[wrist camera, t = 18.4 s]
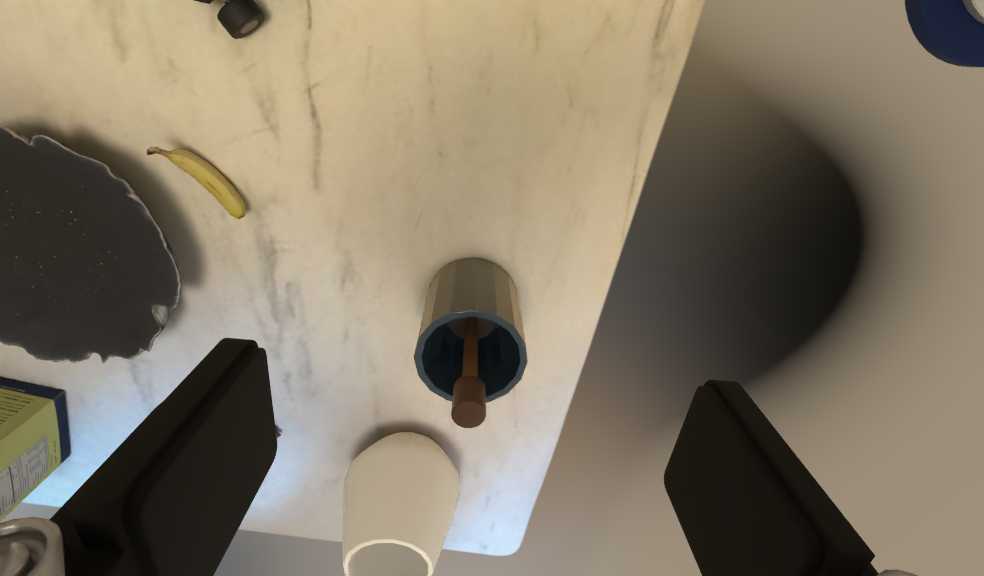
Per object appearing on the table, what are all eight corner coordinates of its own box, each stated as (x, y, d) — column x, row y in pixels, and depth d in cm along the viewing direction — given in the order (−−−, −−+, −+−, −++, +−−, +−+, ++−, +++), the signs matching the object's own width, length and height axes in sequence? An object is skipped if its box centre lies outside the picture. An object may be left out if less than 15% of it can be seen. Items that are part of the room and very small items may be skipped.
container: (535, 290, 48) (549, 350, 38) (481, 350, 51) (481, 420, 41) (462, 239, 45) (458, 289, 35) (411, 306, 48) (393, 369, 38)
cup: (349, 490, 60) (314, 604, 47) (357, 410, 54) (321, 515, 41) (452, 503, 61) (445, 616, 49) (470, 426, 55) (468, 532, 43)
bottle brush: (502, 297, 47) (513, 410, 32) (476, 327, 49) (475, 448, 33) (467, 274, 46) (461, 379, 31) (442, 305, 47) (424, 420, 32)
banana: (170, 147, 41) (140, 155, 37) (182, 134, 40) (152, 141, 37) (246, 216, 43) (225, 229, 40) (258, 204, 43) (238, 217, 39)
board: (-92, 212, 43) (-160, 230, 38) (53, 63, 38) (-6, 64, 33) (116, 371, 51) (79, 402, 46) (257, 267, 46) (232, 290, 41)
